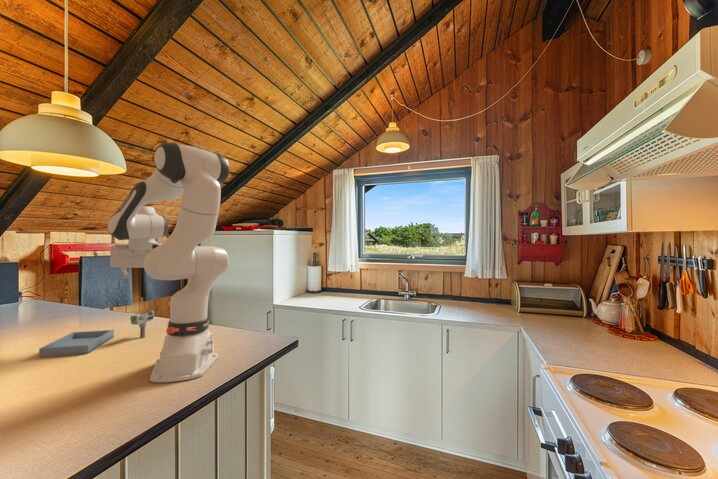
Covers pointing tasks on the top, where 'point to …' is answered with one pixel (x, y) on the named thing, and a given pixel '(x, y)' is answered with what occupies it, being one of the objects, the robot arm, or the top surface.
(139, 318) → the mechanical component
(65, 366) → the top surface
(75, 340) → the parts tray
